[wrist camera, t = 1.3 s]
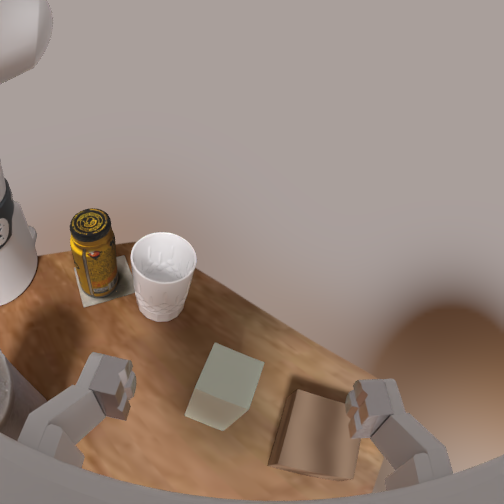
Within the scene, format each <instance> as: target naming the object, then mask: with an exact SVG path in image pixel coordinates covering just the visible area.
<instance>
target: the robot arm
mask: <svg viewBox="0 0 504 504" xmlns="http://www.w3.org/2000/svg"><path fill="white" fill-rule="evenodd" d="M52 27H53V17H52V11H51V8H50V5H49V3H48V2H47V0H0V84H2V83H4V82H6V81H8V80H10V79H12V78H14V77H16V76H18V75H20V74H22V73H24V72H26V71H28V70H30V69H33V68H34V67H35V65H36V64H37V63H38V62H39V60H40V59H41V57H42V56H43V54H44V52H45V50H46V48H47V46H48V44H49V41H50V37H51V34H52ZM36 237H37V233H36V231H35V229H34V228H33V227H31V226H28V225H27V222H26V219H25V217H24V214H23V212H22V209H21V206H20V204H19V203H18V202H15V201H13V198H12V192H11V189H10V187H9V184H8V182H7V180H6V179H5V178H4V176H3V171H2V166H1V161H0V306H1V305H4V304H6V303H8V302H10V301H12V300H14V299H15V298H17V297H18V296H19V295H20V294H21V293H22V292H23V291H24V290H25V289H26V288H27V287H28V285H29V284H30V282H31V281H32V279H33V277H34V274H35V272H36V268H37V253H36V250H35V241H36ZM132 367H133V365H132V362H131V361H130V360H126V359H121V358H117V357H112V356H108V355H104V354H100V353H95V352H92V353H91V354H90V356H89V358H88V360H87V362H86V364H85V366H84V368H83V371H82V373H81V375H80V377H79V379H78V382H77V384H76V386H75V385H71V386H70V387H68V388H67V389H65V390H64V391H62V392H61V393H59V394H58V395H56V396H55V397H53V398H52V399H51V400H49V401H48V402H46V403H45V404H43V405H42V406H40V407H39V408H37V409H36V410H34V411H33V412H31V413H30V414H29V415H28V417H27V420H26V422H25V424H24V426H23V429H22V431H21V433H20V436H19V438H18V441H16V440H14V439H12V438H10V437H8V436H6V435H4V434H2V433H0V504H504V455H502V456H499V457H497V458H494V459H492V460H490V461H487V462H485V463H482V464H479V465H477V466H474V467H472V468H469V469H466V470H463V471H460V472H457V473H454V474H453V471H452V467H451V464H450V460H449V457H448V453H447V450H446V447H445V446H444V445H443V444H442V443H441V442H440V441H439V440H438V439H436V438H435V437H434V436H433V435H432V434H431V433H430V432H429V431H428V430H427V429H426V428H425V427H423V426H422V425H421V424H420V423H419V422H418V421H417V420H416V419H415V418H414V417H413V416H412V415H411V414H410V413H406V412H405V409H404V406H403V402H402V399H401V396H400V393H399V390H398V387H397V384H396V381H395V380H394V379H372V380H357V381H356V382H355V383H354V385H353V387H354V390H352V391H350V392H349V393H348V395H347V397H346V402H345V410H346V415H347V416H348V417H349V418H350V419H351V420H350V422H349V423H348V428H349V433H350V439H355V438H370V439H371V440H372V442H373V443H374V444H375V445H376V447H377V448H378V449H379V450H380V452H381V453H382V454H383V455H384V457H385V458H386V459H387V460H388V461H389V463H390V464H391V465H392V467H393V468H394V469H395V471H394V472H393V473H391V474H390V475H388V476H387V477H386V478H385V484H386V491H383V492H377V493H371V494H364V495H357V496H350V497H341V498H331V499H319V500H300V501H253V500H235V499H222V498H212V497H203V496H196V495H189V494H182V493H176V492H170V491H165V490H160V489H155V488H150V487H145V486H141V485H137V484H133V483H129V482H125V481H121V480H117V479H114V478H110V477H107V476H104V475H100V474H97V473H94V472H91V471H88V470H85V469H82V464H83V461H84V455H83V453H82V452H81V451H80V450H79V449H78V448H77V446H76V444H77V443H78V442H79V441H80V440H81V439H82V438H83V437H84V436H86V435H87V434H88V433H89V432H90V431H91V430H92V429H93V428H94V427H96V426H97V425H98V424H99V423H100V422H101V421H102V420H103V419H104V418H105V416H108V417H112V418H116V419H121V420H125V421H126V420H127V416H128V413H129V410H130V407H131V406H130V403H129V401H128V400H130V399H131V398H132V397H134V393H135V389H136V376H135V373H134V372H133V371H132Z"/></svg>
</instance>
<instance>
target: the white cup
mask: <svg viewBox="0 0 504 504" xmlns="http://www.w3.org/2000/svg"><path fill="white" fill-rule="evenodd" d="M196 263H197V257H196V252H195V250H194V248H193V247H192V245H191V244H190V243H189V242H188V241H187V240H185V239H184V238H182V237H181V236H178V235H176V234H172V233H167V232H157V233H152V234H149V235H146V236H144V237H142V238H141V239H139V240H138V241H137V242H136V243H135V245H134V246H133V248H132V251H131V265H132V274H133V283H134V289H135V295H136V299H137V304H138V307H139V310H140V311H141V312H142V313H143V314H144V315H145V316H146V317H147V318H148V319H151V320H154V321H156V322H166V321H170V320H172V319H174V318H176V317H177V316H178V315H179V314H180V312H181V311H182V310H183V307H184V303H185V300H186V298H187V295H188V291H189V288H190V285H191V281H192V277H193V274H194V270H195V267H196Z"/></svg>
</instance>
